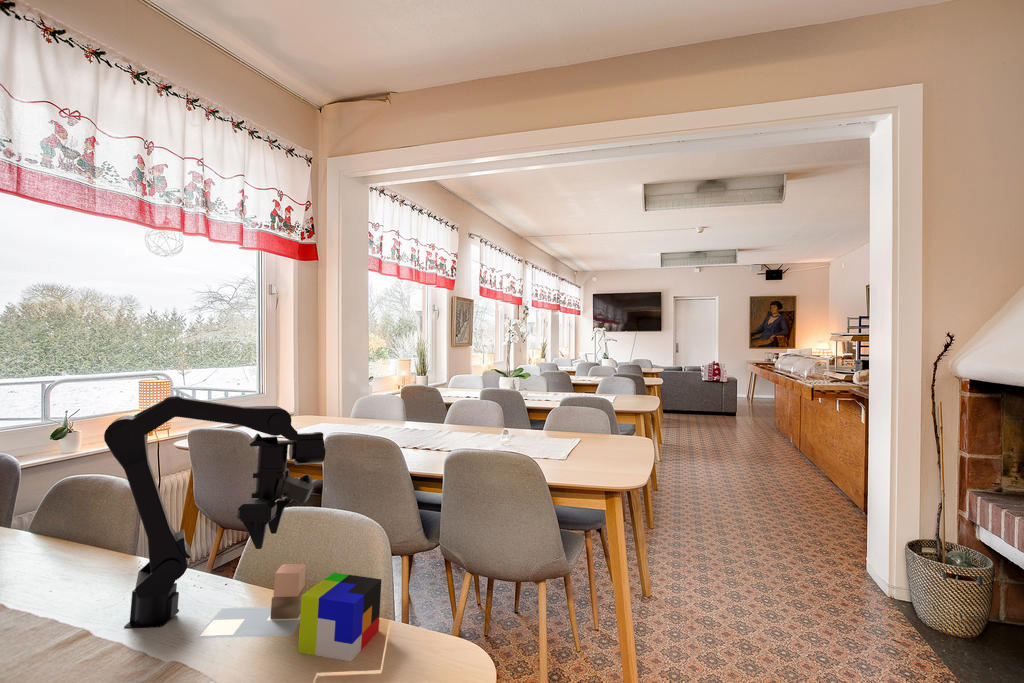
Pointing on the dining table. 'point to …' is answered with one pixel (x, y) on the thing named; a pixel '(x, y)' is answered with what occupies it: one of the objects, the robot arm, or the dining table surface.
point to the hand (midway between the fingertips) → (266, 540)
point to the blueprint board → (247, 624)
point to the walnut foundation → (286, 606)
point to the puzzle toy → (339, 616)
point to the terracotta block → (289, 580)
